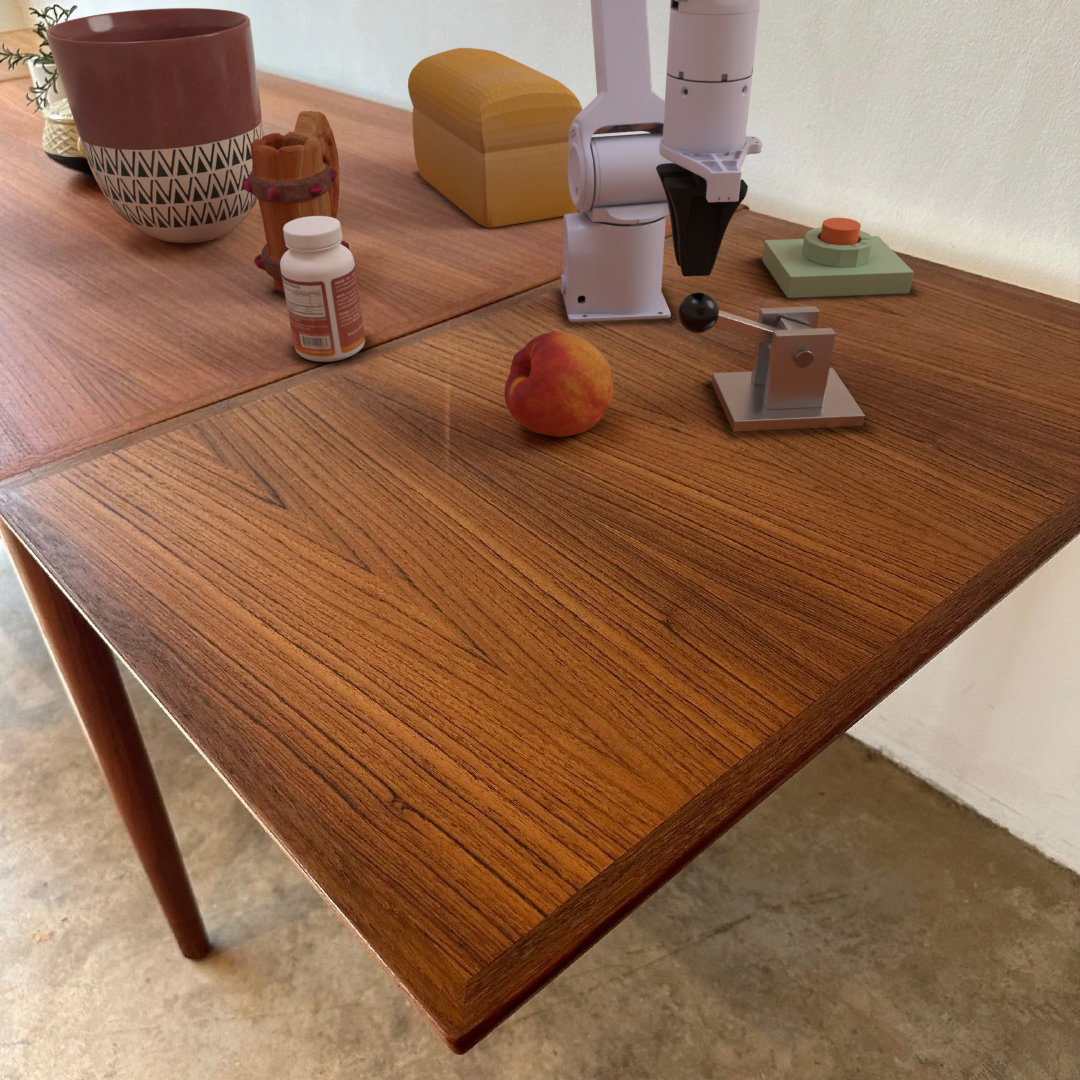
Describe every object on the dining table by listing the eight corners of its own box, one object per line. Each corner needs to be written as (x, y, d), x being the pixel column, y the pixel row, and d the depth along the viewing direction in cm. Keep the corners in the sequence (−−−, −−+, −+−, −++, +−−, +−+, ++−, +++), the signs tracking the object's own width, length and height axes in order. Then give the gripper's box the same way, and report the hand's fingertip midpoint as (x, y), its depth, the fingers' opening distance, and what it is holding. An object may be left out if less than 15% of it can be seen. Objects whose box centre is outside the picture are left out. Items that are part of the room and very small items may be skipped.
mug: (328, 308, 96) (304, 145, 87) (249, 302, 97) (218, 141, 88) (378, 254, 108) (362, 105, 99) (307, 249, 109) (284, 102, 100)
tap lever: (675, 333, 73) (692, 296, 72) (668, 316, 76) (684, 280, 74) (805, 373, 76) (824, 338, 75) (795, 356, 79) (813, 321, 77)
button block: (787, 298, 97) (793, 258, 94) (761, 260, 105) (766, 222, 102) (909, 293, 97) (918, 253, 95) (874, 256, 105) (881, 218, 103)
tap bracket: (732, 435, 76) (743, 346, 72) (711, 385, 82) (719, 301, 78) (862, 429, 76) (880, 340, 72) (830, 380, 83) (845, 296, 79)
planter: (65, 254, 109) (0, 35, 96) (181, 200, 123) (137, 4, 111) (214, 277, 103) (165, 48, 90) (317, 217, 117) (287, 12, 104)
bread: (584, 213, 117) (586, 74, 108) (482, 230, 113) (475, 87, 104) (504, 160, 135) (500, 37, 126) (413, 172, 131) (402, 47, 122)
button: (826, 248, 97) (829, 230, 96) (815, 235, 100) (818, 218, 99) (862, 247, 97) (865, 229, 96) (850, 234, 100) (853, 216, 99)
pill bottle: (353, 328, 92) (337, 207, 86) (375, 355, 88) (359, 229, 81) (287, 342, 90) (265, 219, 84) (305, 370, 86) (284, 242, 79)
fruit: (509, 404, 80) (506, 310, 76) (610, 405, 80) (614, 310, 75) (503, 456, 74) (500, 357, 69) (613, 456, 74) (617, 357, 69)
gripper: (797, 96, 62) (770, 305, 70) (742, 50, 73) (724, 233, 81) (684, 100, 61) (669, 309, 69) (647, 53, 73) (638, 237, 81)
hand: (693, 269), depth 75 cm, fingers closed
